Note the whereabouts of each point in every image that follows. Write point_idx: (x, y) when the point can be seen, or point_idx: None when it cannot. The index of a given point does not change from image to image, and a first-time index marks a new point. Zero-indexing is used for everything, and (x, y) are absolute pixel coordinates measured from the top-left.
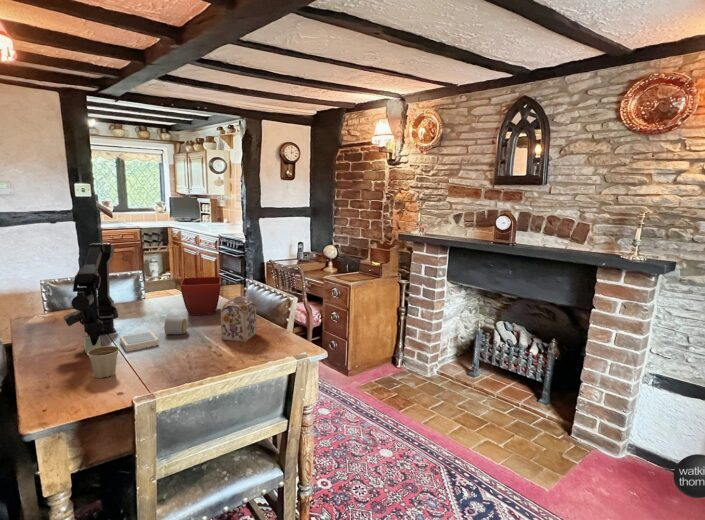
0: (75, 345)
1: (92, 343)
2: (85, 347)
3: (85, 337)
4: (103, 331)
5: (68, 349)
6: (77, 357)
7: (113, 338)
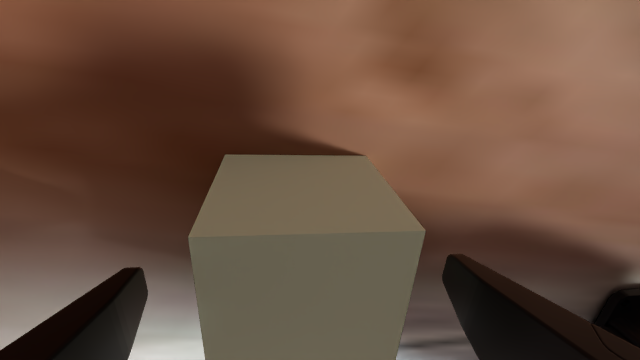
0: (533, 96)
1: (96, 292)
2: (248, 175)
3: (374, 253)
4: (624, 328)
5: (466, 5)
6: (93, 47)
7: (455, 350)
